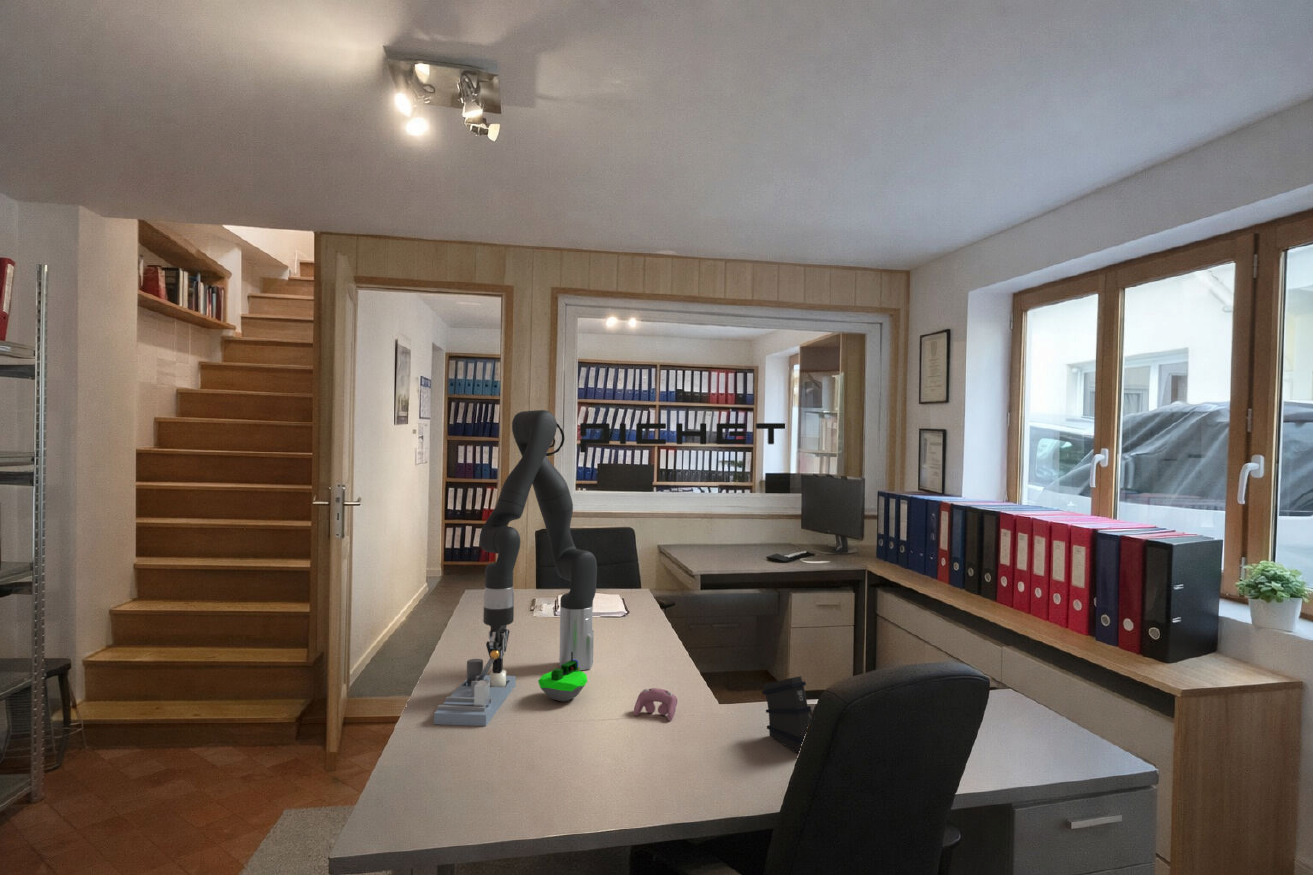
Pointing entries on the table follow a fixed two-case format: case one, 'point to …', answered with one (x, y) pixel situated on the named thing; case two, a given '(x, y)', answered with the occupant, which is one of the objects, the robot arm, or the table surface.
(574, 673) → the green floating island model
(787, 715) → the magazine
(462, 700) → the panel
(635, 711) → the video game controller
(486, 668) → the toggle lever
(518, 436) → the robot arm
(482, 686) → the slider knob
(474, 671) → the button
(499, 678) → the button
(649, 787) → the table surface
